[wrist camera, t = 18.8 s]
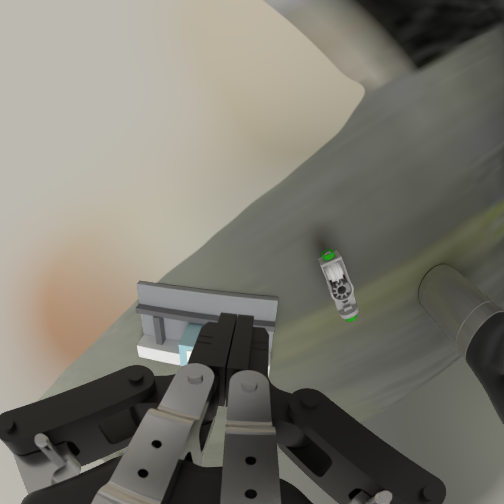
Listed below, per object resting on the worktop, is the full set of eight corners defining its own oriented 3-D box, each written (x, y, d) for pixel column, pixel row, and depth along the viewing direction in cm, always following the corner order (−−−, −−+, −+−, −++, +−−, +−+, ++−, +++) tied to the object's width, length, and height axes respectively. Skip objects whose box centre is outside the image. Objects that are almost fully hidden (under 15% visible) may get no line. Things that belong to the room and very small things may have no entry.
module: (218, 323, 45) (210, 350, 38) (218, 343, 47) (210, 371, 40) (189, 319, 45) (177, 345, 39) (191, 339, 47) (180, 366, 40)
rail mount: (277, 297, 44) (278, 312, 40) (267, 367, 49) (266, 384, 45) (139, 280, 45) (127, 292, 41) (149, 350, 50) (141, 364, 46)
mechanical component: (329, 291, 43) (342, 326, 34) (306, 235, 40) (317, 260, 31) (346, 284, 42) (363, 317, 33) (324, 228, 40) (340, 250, 30)
